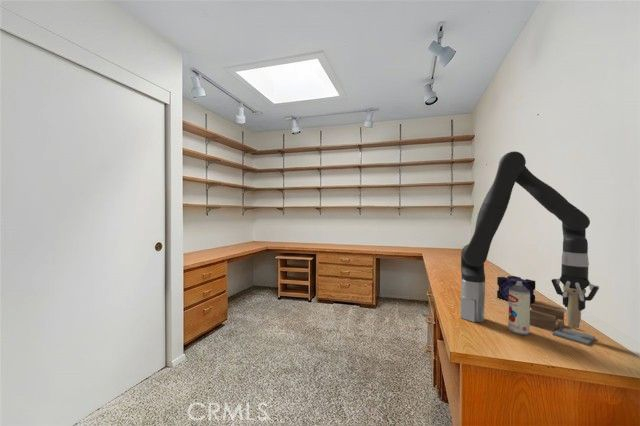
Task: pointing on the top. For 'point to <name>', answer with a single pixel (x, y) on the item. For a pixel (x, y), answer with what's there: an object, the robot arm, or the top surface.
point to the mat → (574, 336)
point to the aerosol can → (519, 309)
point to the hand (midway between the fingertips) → (573, 308)
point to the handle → (573, 307)
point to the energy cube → (509, 282)
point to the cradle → (546, 317)
